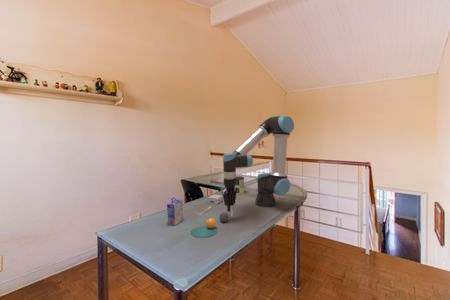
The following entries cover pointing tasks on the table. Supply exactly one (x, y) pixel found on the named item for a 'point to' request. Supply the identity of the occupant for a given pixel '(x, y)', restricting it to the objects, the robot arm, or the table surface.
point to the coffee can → (239, 184)
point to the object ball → (211, 223)
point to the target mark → (203, 232)
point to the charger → (215, 199)
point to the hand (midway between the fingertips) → (230, 215)
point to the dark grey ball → (224, 217)
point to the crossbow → (205, 211)
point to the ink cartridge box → (175, 211)
